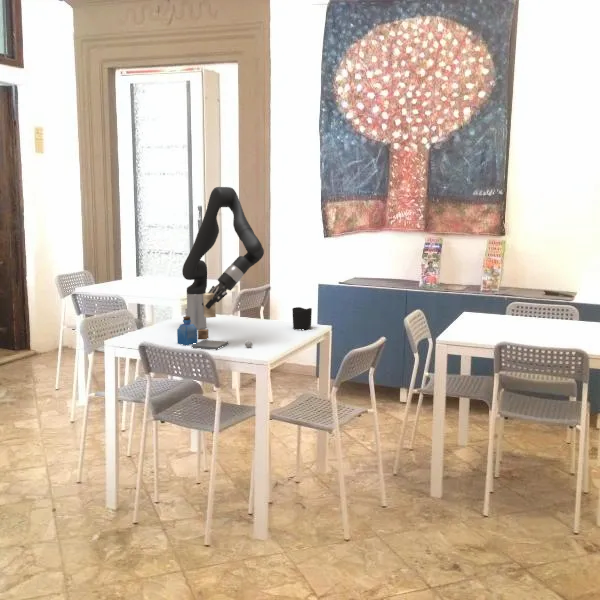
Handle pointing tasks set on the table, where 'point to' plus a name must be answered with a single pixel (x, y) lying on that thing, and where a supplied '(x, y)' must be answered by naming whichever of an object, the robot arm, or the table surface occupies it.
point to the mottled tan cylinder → (212, 310)
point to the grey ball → (248, 343)
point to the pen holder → (302, 318)
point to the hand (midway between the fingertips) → (205, 306)
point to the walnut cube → (202, 333)
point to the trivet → (209, 344)
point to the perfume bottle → (187, 332)
